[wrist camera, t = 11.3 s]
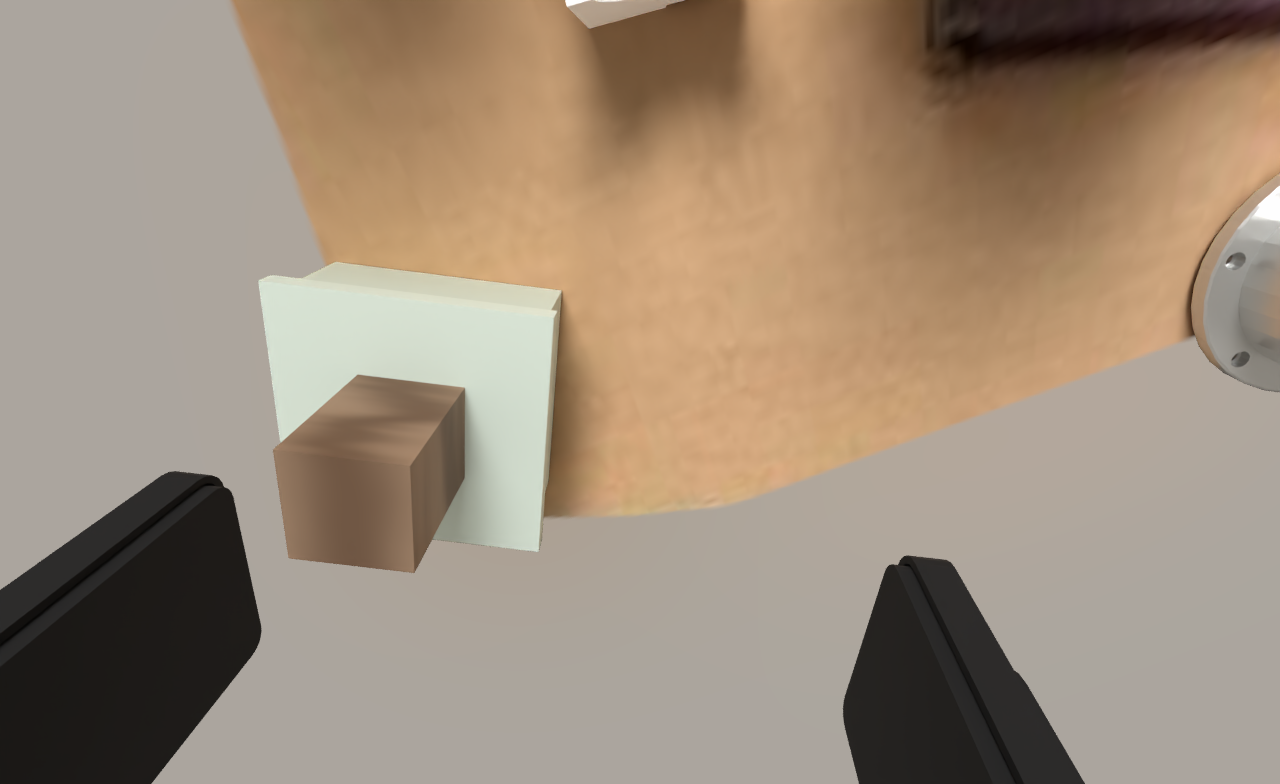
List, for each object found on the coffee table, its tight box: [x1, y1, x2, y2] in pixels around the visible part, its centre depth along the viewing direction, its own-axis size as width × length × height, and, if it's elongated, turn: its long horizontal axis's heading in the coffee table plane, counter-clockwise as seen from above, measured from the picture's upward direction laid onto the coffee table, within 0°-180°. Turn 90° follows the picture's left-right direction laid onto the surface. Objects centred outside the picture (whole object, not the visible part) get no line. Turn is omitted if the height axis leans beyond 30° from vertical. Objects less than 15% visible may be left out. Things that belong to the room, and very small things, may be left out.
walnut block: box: [273, 375, 465, 573], centre depth 27 cm, size 5×5×7 cm
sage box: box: [259, 262, 562, 552], centre depth 33 cm, size 13×13×6 cm
